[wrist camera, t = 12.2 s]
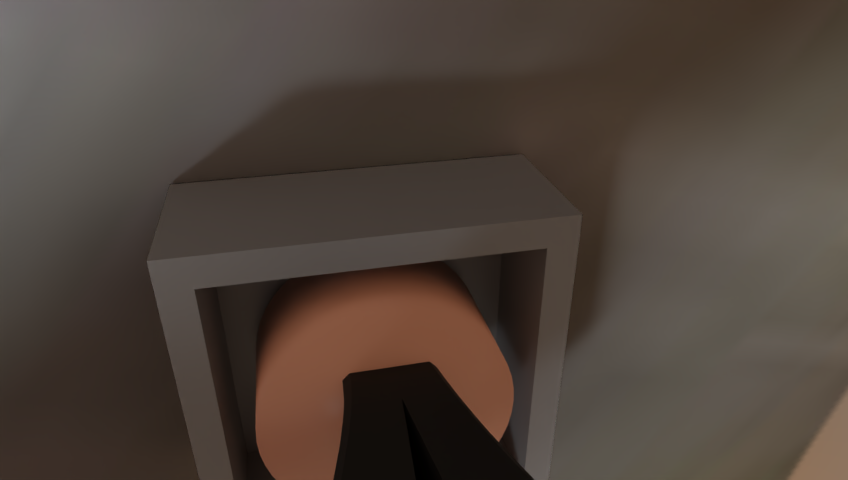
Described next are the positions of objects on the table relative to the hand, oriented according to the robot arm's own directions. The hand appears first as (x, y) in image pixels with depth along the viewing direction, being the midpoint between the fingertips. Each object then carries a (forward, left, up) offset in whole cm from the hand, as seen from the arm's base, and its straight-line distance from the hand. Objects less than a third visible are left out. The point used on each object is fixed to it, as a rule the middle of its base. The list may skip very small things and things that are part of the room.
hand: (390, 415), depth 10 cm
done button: (0, 0, -2) cm, 2 cm away
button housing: (0, 0, -3) cm, 3 cm away
